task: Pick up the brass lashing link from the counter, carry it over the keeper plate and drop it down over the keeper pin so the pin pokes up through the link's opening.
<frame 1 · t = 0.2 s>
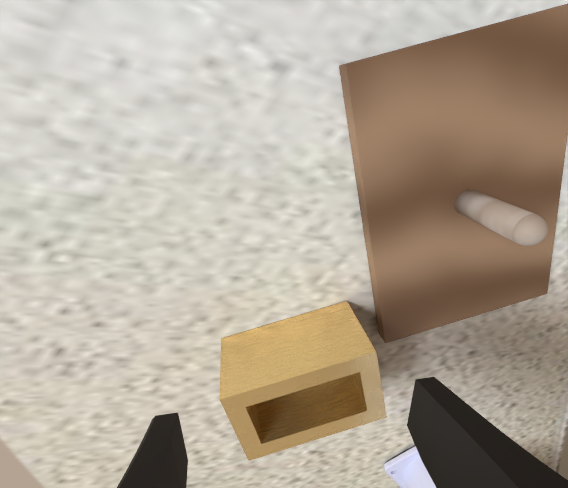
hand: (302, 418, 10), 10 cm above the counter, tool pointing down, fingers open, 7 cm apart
keeper: (455, 197, 19), on the counter
link: (293, 349, 22), on the counter
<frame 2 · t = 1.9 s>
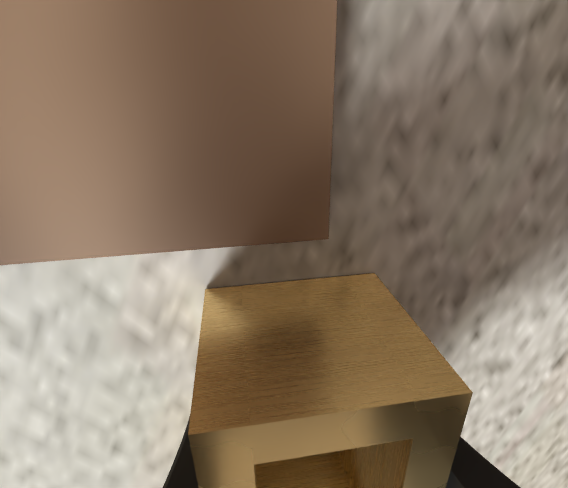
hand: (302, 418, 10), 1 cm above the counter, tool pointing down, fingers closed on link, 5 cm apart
link: (293, 382, 11), on the counter, touching gripper
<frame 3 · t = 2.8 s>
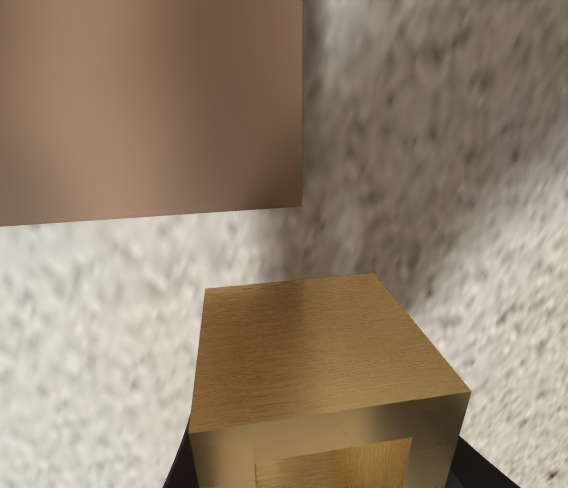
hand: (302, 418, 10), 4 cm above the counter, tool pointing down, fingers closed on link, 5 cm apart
link: (293, 382, 11), point 3 cm above the counter, touching gripper
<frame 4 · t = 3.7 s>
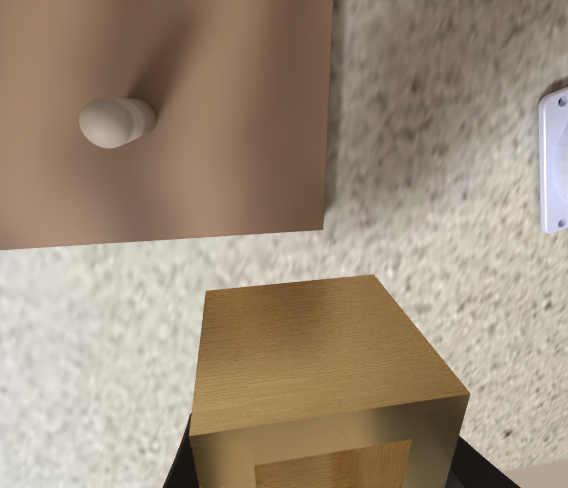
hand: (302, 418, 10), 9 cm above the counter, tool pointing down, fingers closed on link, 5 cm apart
keeper: (144, 115, 15), on the counter
link: (294, 383, 11), point 8 cm above the counter, touching gripper
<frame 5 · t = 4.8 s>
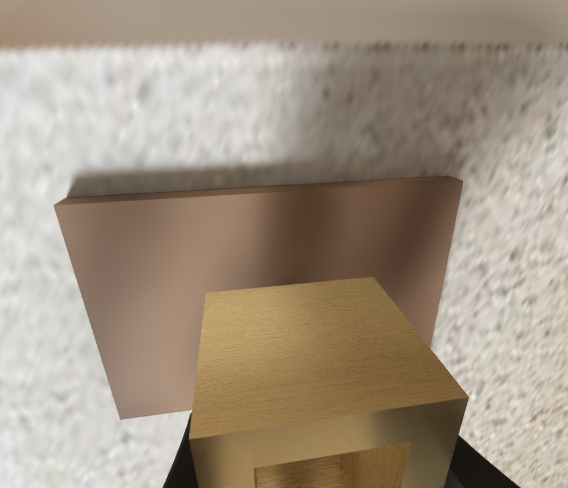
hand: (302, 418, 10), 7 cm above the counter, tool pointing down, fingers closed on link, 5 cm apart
keeper: (275, 298, 16), on the counter
link: (293, 385, 12), point 5 cm above the counter, touching gripper
when the fingers open (4 cm above the counter, at t = 5.7 s): link drops 2 cm, resting on keeper.
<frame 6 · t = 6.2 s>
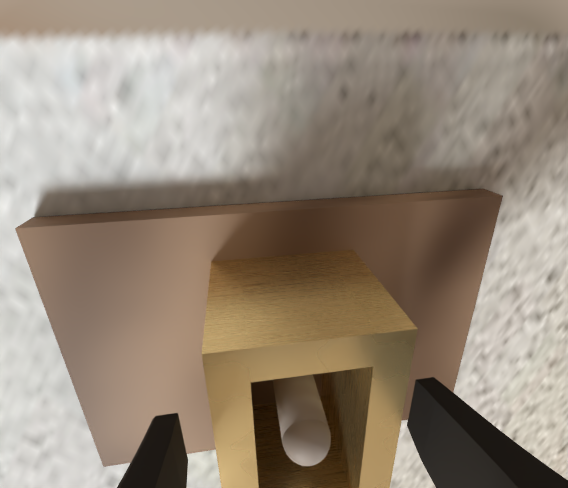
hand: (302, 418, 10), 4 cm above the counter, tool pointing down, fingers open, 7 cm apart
keeper: (281, 327, 14), on the counter
link: (286, 346, 13), point 1 cm above the counter, touching keeper
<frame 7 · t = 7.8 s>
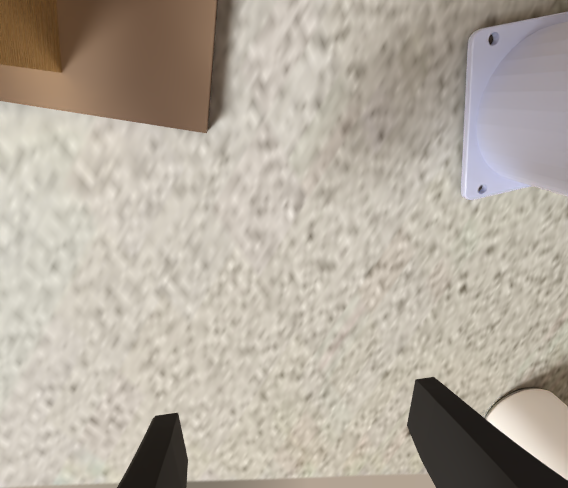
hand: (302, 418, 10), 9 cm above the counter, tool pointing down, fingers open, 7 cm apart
can: (514, 412, 28), on the counter
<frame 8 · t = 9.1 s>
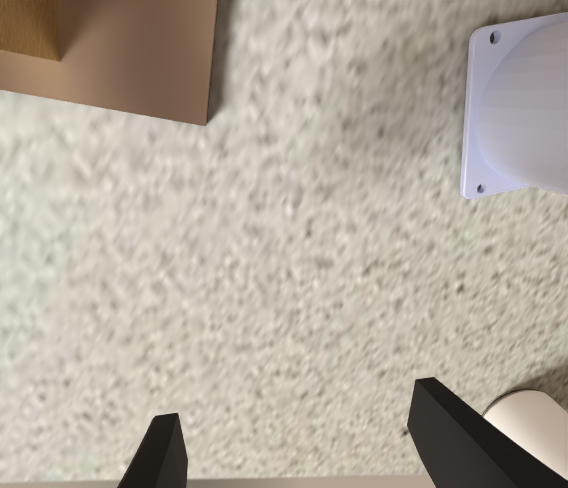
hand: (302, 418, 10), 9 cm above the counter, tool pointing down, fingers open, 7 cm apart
can: (509, 413, 28), on the counter
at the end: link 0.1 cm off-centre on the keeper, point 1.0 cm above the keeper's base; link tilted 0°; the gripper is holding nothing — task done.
